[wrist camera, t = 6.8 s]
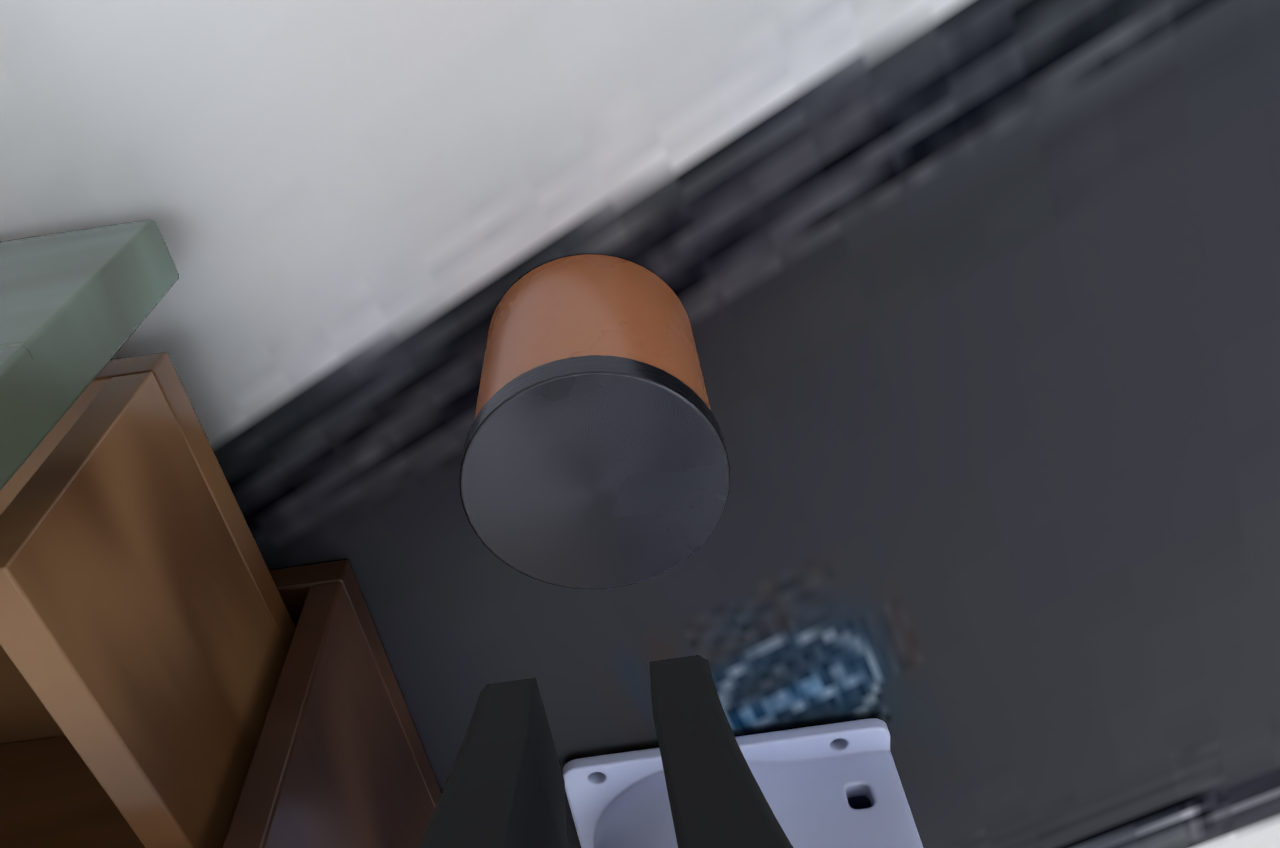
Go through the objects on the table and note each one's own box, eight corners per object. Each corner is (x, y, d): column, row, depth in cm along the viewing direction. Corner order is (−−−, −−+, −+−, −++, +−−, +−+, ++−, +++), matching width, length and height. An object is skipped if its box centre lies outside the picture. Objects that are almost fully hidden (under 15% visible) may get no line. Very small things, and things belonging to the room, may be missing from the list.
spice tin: (685, 233, 19) (718, 352, 15) (706, 423, 21) (740, 571, 17) (459, 266, 19) (428, 394, 15) (507, 451, 22) (492, 606, 17)
